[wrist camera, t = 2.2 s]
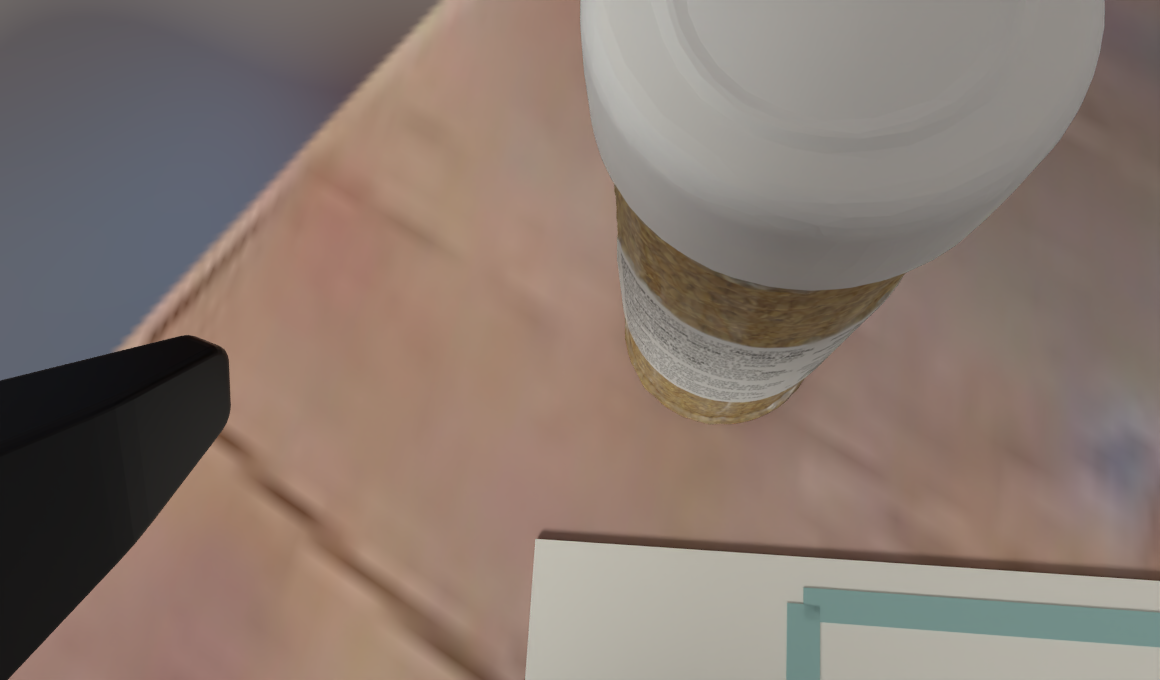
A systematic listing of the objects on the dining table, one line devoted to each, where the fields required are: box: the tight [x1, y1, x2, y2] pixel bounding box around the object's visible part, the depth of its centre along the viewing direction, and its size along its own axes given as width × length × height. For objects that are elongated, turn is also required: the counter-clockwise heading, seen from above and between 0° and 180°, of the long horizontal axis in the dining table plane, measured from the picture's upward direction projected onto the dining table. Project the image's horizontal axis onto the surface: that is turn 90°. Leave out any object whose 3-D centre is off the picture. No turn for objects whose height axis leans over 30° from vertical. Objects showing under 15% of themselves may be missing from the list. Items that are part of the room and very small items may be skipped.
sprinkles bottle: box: [580, 0, 1105, 424], centre depth 14 cm, size 5×5×14 cm
